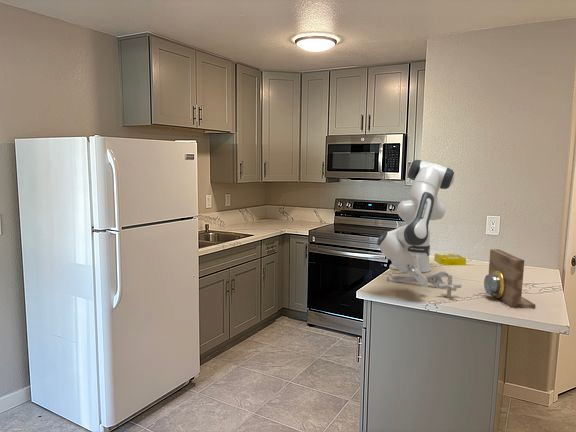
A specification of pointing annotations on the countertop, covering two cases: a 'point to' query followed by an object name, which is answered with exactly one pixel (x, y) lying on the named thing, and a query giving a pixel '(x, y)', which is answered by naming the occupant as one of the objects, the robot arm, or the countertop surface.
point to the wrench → (431, 279)
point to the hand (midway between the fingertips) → (426, 285)
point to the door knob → (495, 284)
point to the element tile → (450, 259)
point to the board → (510, 277)
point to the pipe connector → (449, 285)
